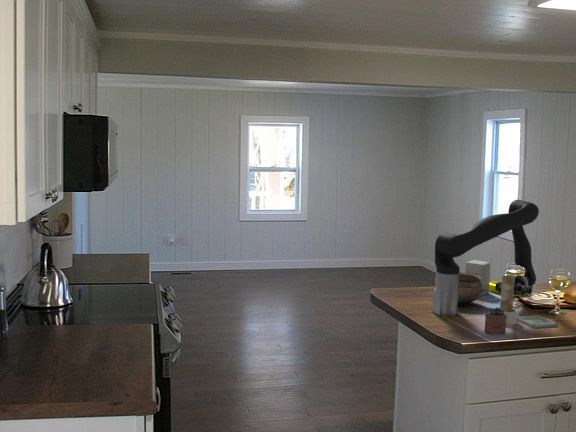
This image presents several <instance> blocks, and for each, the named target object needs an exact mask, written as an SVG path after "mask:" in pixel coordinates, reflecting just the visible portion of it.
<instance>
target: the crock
mask: <svg viewBox="0 0 576 432" xmlns="http://www.w3.org/2000/svg"><path fill="white" fill-rule="evenodd" d="M498 308H499V309H500V306H498ZM518 312H519V310H518V309H515V308H513V309H512V312H504V314H506V315H507V318H506V326H513V325H517V324H518V321H517V317H518Z"/></svg>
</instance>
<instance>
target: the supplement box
mask: <svg viewBox="0 0 576 432" xmlns="http://www.w3.org/2000/svg"><path fill="white" fill-rule="evenodd" d="M464 269H465V270H464V273H470V274H475V275H478V276H480V277H481V279H480V281H481V284H482V288H483V289H485V288H487V289H488V290H486V291H483V292H482V294H481V296H480V297H483V296H485V295H488V294H489V293H490V292H489V282H490V278H491V277H490V276H491V262H489V261H483V260H478V259H472V260H470V261H465V268H464Z"/></svg>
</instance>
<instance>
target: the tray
mask: <svg viewBox="0 0 576 432" xmlns="http://www.w3.org/2000/svg"><path fill="white" fill-rule="evenodd" d="M517 323H520V324H523V325H525V326H528V327H529V328H532V329H537V328H541V329H542V328H553V327H554V328H555V327H558V323H557V322H555V321H553V320H550V319H548V318H546V317H543V316H541V315H526V316H525V315H524V316H517Z"/></svg>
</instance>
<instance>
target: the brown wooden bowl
mask: <svg viewBox="0 0 576 432" xmlns="http://www.w3.org/2000/svg"><path fill="white" fill-rule="evenodd" d="M480 279H481V277H480V276H478V275H475V274H470V273H465V272H460V273H459V289H458V306H466V305H469V304H471V303H473V302H475V301H477V300H478V299H479V298H480V297H482V296H481V294H482V292H483V291H486V290H488V289H487V288H485V289H483V288H482V284H481V281H480ZM433 282H434V283H436V278H435V279H434V280H433Z"/></svg>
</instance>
